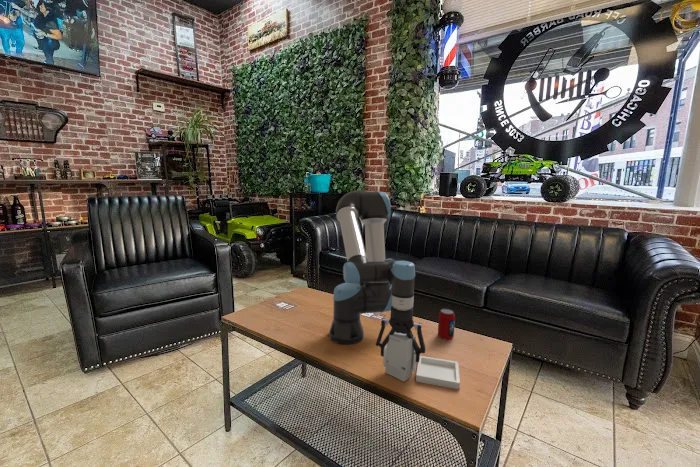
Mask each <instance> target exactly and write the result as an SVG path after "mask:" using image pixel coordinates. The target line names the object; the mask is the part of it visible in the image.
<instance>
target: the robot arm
mask: <svg viewBox="0 0 700 467" xmlns="http://www.w3.org/2000/svg"><path fill="white" fill-rule="evenodd" d="M391 209H392V206H391V200H390V198H389V195H388V194H387V193H386V192H385V191H378V190H375V191H374V190H373V191H370V190H369V191H368V190H367V191H364V190H363V191H362V190H361V191H359V190H353V191H350V192H347V193H345V194H344V195H343V196H342V197H341V198H340V199H339V200H338V202H337V205H336V208H335V216H336V220H337V221H338V222H339V225H340V229H341V236H342V241H343V247H344V251H345V257H346V261H347V262H345V263H344V264H343V268H342V274H343V276H342V277H343V280H344V282H342V283H339V284H338V285H336V286H335V288H334V290H333V296H332V299H333V314H332V315H333V316H332V318H333V319H332V322H331V325H330V328H329V331H328V332H329V334H328V335H329V336H328V337H329V339H330V340H331V341H333V342H334V343H337V344H340V345H352V344H353V345H354V344H357V343H359V342H361V341H362V340H363V339H364V335H365V333H364V332H365V331H364V328H363V325H362V321H361V314H373V313H374V314H375V313H385V312H390V318H387V319H386V318H385V317H383V318H382V319H381V321H380V326H381V327H380V329H379V333H378V336H377V339H376V342H375V346H376V347H380V357H383V358H382V359H383V362H382V364H383V365H382V367H384V368H385V366H386V354H387V343H388V341H389V335H393V334H394V333H395V332H396V333H402V334H405V333H406V335H407V337H408V338H411V339H412V346H413V348H414V359H413V372H412V373H416V371H417V369H416V368H417V363H418V362H419V359H420V356H421V354H425V353H426V345H425V341H424V336H423V332H422V325H423V324H422V322H418V323H416V322H414V318H413V317H414V316H413V315H414V301H415V298H414V297H415V279H416V268H415V267H416V265H415V263H413V261H412V262H411V261H408V260H395V259H393V258H386V246H385V226H384V224H385V223H386V222H388V219H387V218H389V217H390V216H391V211H392V210H391ZM358 218H360V222H361V223H362V224H363V225H364V235H365V236H364V237H365V241H364V239H363V237H362V231H361V229H360V225H359V221H358ZM364 242H365V243H364ZM364 244H365V245H364ZM361 284H363V285H361ZM388 324H389V325H390V327H391V329H390V330H389V332H388V334H389V335H388V334H387V335H386V336H385V338H384V340H383V341H381V340H382V337H383V334H384V332H385V330H386V327H387V326H388ZM412 328H414V329H415V331H416V333H417V339H418V342H419V345H418V342H417V340H416V339H415V340H414V339H413V336H414V334H413V331H412Z"/></svg>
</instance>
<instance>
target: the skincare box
mask: <svg viewBox="0 0 700 467" xmlns="http://www.w3.org/2000/svg"><path fill="white" fill-rule="evenodd" d="M387 335H389V334H387ZM413 339H414V340H416V336H415V335H413ZM386 346H387V354H386V366H385V367H384V373H385V374H387V375H389V376H392V377H394V378H396V379H398V380H400V381H401V382H403V383H404V382H406V381H407V380H409V379H410V377H412V376H413V373H414V372H413V359H414V348H413V346H412V339H411V338H408V337H407V335H406V333H405V334H402V333H396V332H395V333H394V334H393V335H389V341H388V343H387V344H386Z"/></svg>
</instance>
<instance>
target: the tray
mask: <svg viewBox="0 0 700 467" xmlns="http://www.w3.org/2000/svg"><path fill="white" fill-rule="evenodd" d="M416 368H417V369H416V372H415V373H416V375H415V382H416V383H422V384H429V385H431V386H432V385H434V386H438V387H439V386H440V387H444V388H449V389H456V390H460V386H461V383H460V382H461V380H460V370H459V361H456V360H449V359H442V358H436V357H432V356H431V357H429V356H424V355H420V359H419V362H417V365H416Z"/></svg>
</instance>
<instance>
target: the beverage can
mask: <svg viewBox="0 0 700 467" xmlns="http://www.w3.org/2000/svg"><path fill="white" fill-rule="evenodd" d="M455 322H456V314H455V313H454V310H452V309H451V308H450V309H449V308H441V309H440V311H439V313H438V325H437V326H438V327H437V336H438V337H440V338H441V339H443V340H451V339H454V337H455V326H456V324H455Z"/></svg>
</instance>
